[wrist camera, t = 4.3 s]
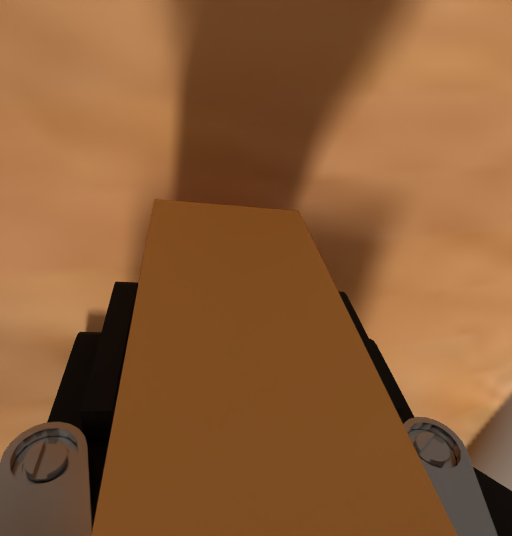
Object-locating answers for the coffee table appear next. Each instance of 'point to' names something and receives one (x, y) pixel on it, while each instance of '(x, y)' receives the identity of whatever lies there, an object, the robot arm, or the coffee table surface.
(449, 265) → the coffee table surface
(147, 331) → the orange rectangular block
